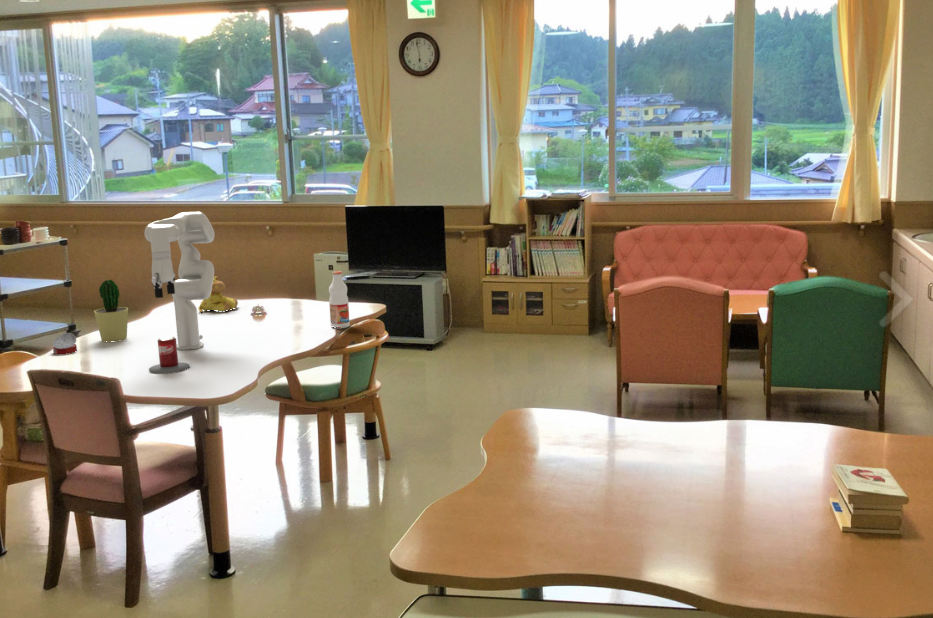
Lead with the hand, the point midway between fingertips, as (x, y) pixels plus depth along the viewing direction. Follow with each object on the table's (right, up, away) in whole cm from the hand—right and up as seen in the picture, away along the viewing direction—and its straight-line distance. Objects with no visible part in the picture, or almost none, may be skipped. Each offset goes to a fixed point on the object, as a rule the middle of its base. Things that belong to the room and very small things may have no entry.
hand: (165, 295), depth 368 cm
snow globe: (-55, -26, +28) cm, 67 cm away
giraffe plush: (-14, -7, +126) cm, 127 cm away
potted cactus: (-43, -21, +52) cm, 71 cm away
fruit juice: (+65, -15, +67) cm, 94 cm away
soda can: (+5, -30, -10) cm, 32 cm away
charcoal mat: (+5, -30, -10) cm, 32 cm away
